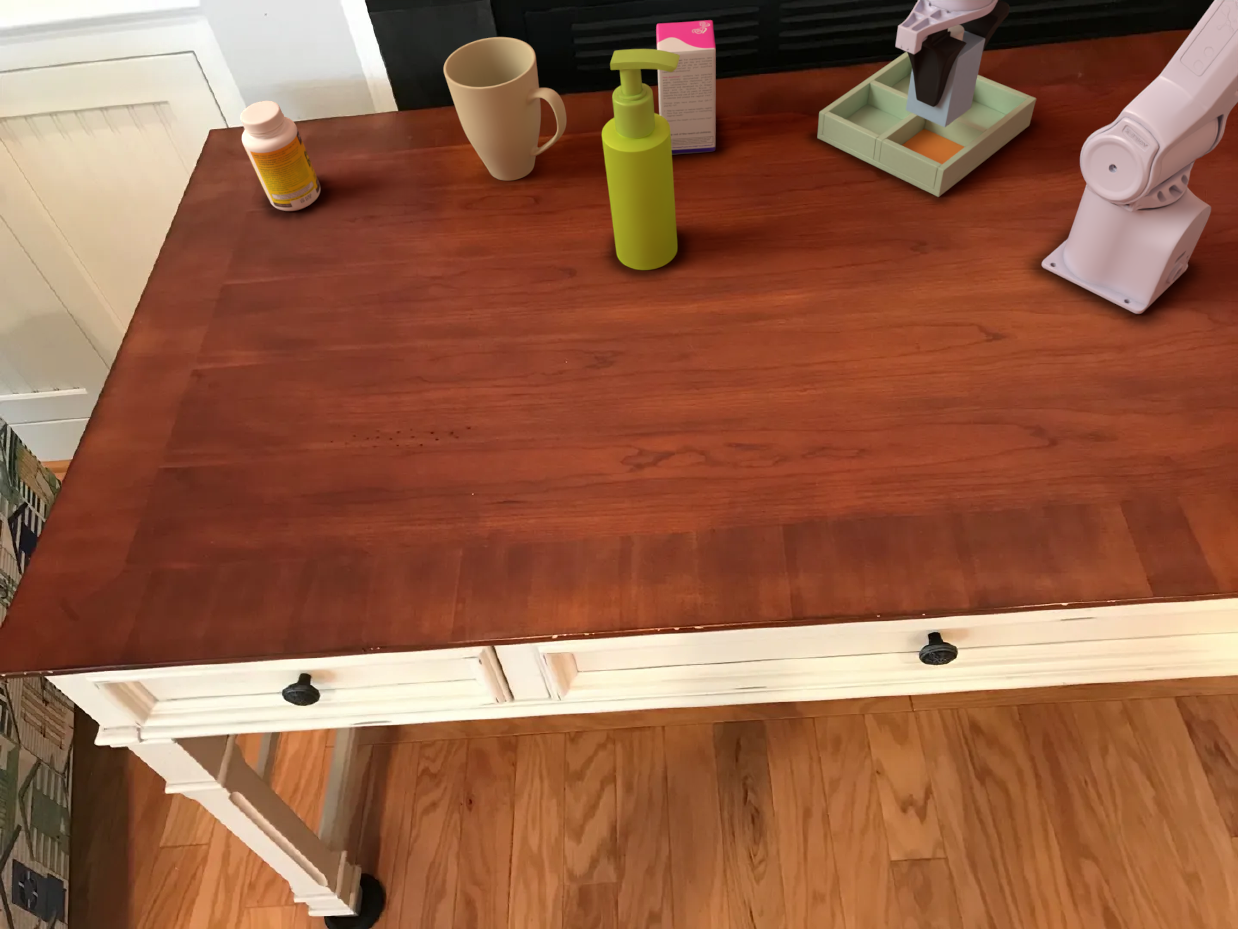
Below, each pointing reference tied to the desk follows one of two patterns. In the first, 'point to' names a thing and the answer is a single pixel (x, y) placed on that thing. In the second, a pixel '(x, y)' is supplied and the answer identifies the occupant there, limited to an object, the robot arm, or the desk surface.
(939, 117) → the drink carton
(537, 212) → the desk surface
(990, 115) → the tray
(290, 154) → the supplement bottle
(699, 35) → the supplement box
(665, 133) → the soap dispenser
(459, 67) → the mug
